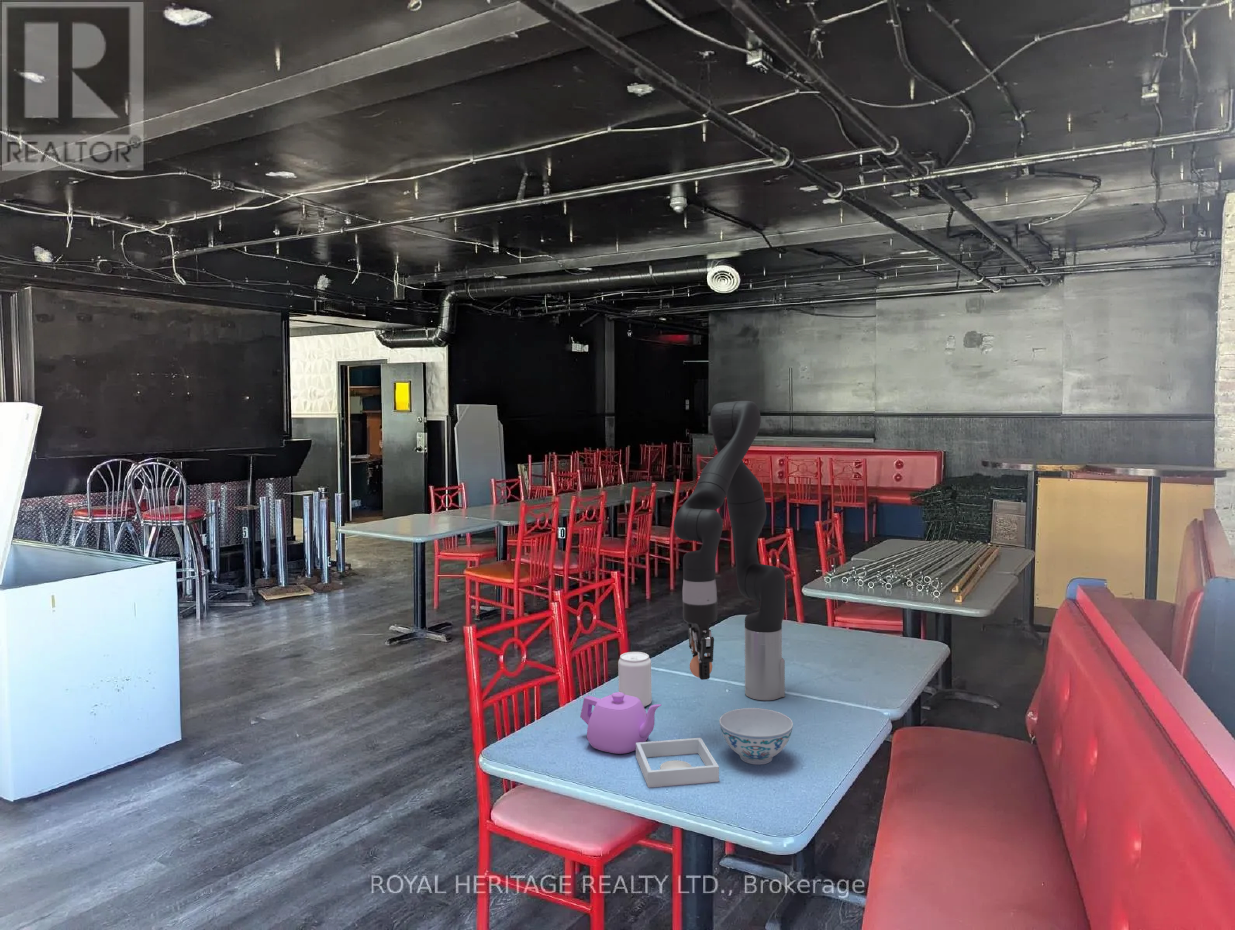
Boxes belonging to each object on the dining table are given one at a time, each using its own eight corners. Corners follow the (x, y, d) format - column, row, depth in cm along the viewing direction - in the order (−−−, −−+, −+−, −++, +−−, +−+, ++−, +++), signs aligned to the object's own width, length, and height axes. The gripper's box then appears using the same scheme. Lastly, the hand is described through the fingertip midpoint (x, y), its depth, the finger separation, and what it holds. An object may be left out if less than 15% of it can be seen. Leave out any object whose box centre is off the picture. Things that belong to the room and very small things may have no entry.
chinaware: (777, 780, 155) (777, 741, 155) (707, 763, 163) (707, 726, 163) (803, 751, 168) (803, 716, 167) (737, 737, 176) (736, 703, 175)
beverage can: (652, 698, 201) (651, 651, 200) (650, 710, 193) (650, 661, 192) (620, 697, 201) (619, 650, 201) (617, 709, 193) (616, 660, 193)
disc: (687, 760, 164) (687, 759, 164) (695, 774, 158) (695, 772, 158) (657, 762, 163) (657, 761, 163) (663, 776, 157) (663, 775, 157)
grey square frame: (701, 751, 169) (700, 737, 169) (718, 781, 155) (718, 766, 155) (635, 756, 167) (635, 742, 166) (648, 787, 153) (648, 772, 153)
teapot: (647, 765, 163) (646, 712, 162) (566, 746, 173) (565, 696, 172) (676, 741, 174) (675, 692, 173) (598, 725, 184) (597, 677, 183)
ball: (709, 672, 179) (708, 650, 178) (715, 680, 174) (714, 657, 174) (687, 674, 178) (687, 652, 178) (692, 682, 173) (692, 659, 173)
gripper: (725, 605, 168) (726, 684, 169) (707, 590, 182) (709, 663, 184) (691, 608, 167) (692, 687, 168) (675, 592, 181) (677, 665, 183)
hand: (701, 674), depth 176 cm, fingers closed on ball, 5 cm apart
